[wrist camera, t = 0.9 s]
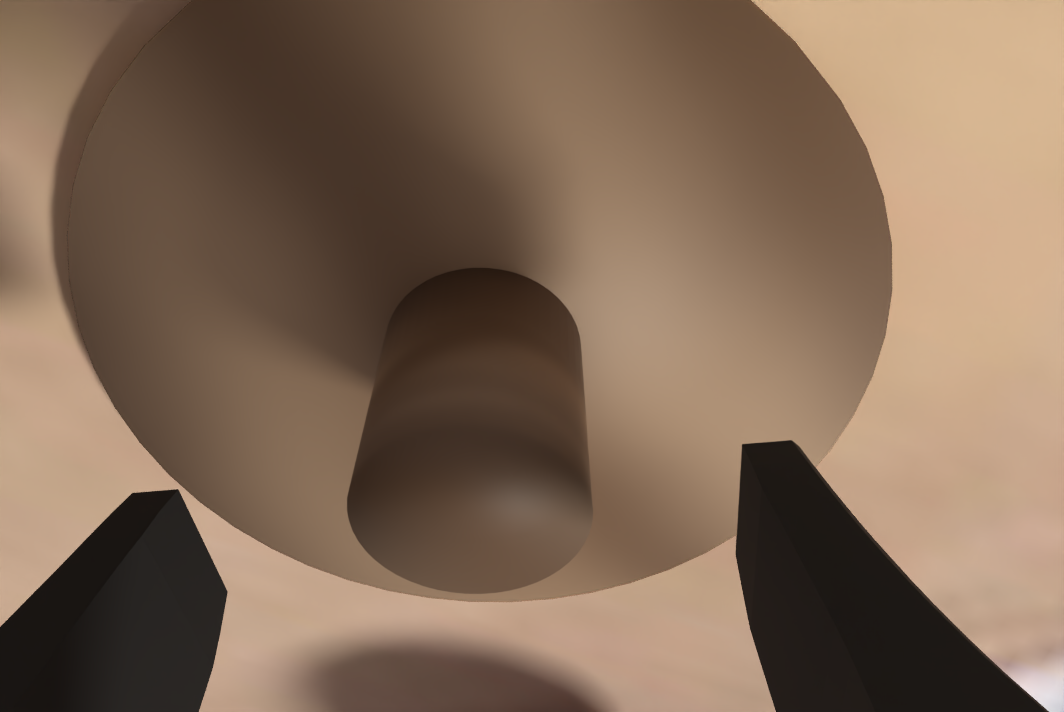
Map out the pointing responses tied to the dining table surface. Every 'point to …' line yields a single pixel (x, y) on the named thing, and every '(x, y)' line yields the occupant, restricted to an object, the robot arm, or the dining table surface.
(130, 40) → the dining table surface
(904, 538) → the dining table surface
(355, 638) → the dining table surface
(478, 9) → the lid
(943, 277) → the dining table surface
